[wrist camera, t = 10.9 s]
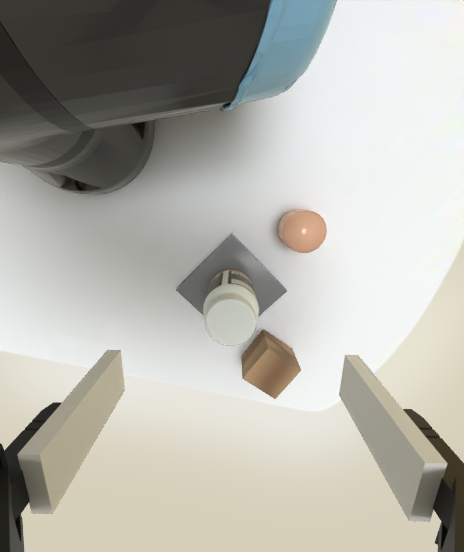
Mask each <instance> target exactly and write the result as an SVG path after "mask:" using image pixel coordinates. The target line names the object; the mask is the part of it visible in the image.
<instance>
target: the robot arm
mask: <svg viewBox="0 0 464 552" xmlns="http://www.w3.org/2000/svg"><path fill="white" fill-rule="evenodd" d="M336 2H337V0H0V162H5V163H11V164H17V165H22V166H23V167H25V168H26V169H28V170H29V171H31V172H32V173H34V174H35V175H37V176H38V177H40V178H41V179H43V180H44V181H46V182H48V183H50V184H52V185H54V186H56V187H58V188H61V189H64V190H67V191H71V192H76V193H85V194H103V193H109V192H112V191H115V190H117V189H120V188H122V187H123V186H125V185H127V184H128V183H129V182H131V181H132V180H133V179H134V178H135V177H136V176H137V175H138V174H139V172H140V171H141V170H142V168H143V167H144V165H145V163H146V161H147V159H148V157H149V154H150V152H151V148H152V144H153V138H154V120H155V119H161V118H167V117H173V116H178V115H184V114H190V113H195V112H201V111H207V110H213V109H218V108H220V110H221V111H229V110H232V109H234V108H235V107H236V106H238V105H239V104H242V103H246V102H251V101H255V100H260V99H264V98H268V97H273V96H276V95H279V94H281V93H283V92H285V91H286V90H288V89H289V88H290V87H291V86H292V85H293V84H294V83H295V82H296V80H297V79H298V78H299V77H300V76H301V75H302V74H303V73H304V72H305V71H306V69H307V68H308V66H309V64H310V63H311V61H312V59H313V58H314V56H315V54H316V52H317V50H318V48H319V45H320V43H321V41H322V39H323V37H324V34H325V32H326V29H327V27H328V24H329V22H330V19H331V16H332V14H333V11H334V8H335V5H336ZM124 391H125V389H124V380H123V370H122V360H121V350H107V351H106V352H105V353H104V355H103V356H102V357H101V358H100V359H99V360H98V362H97V363H96V364H95V365H94V366H93V367H92V369H91V370H90V371H89V372H88V373H87V374H86V375H85V377H84V378H83V379H82V380H81V382H79V384H78V385H77V386H76V387H75V388H74V389H73V391H72V392H71V393H70V394H69V395H68V396H67V398H66V399H65V400H64V401H63V402H62V403H52V404H51V405H49V406H48V407H46V408H45V409H43V410H42V411H41V412H40V413H39V414H38V415H37V416H36V417H35V418H34V419H33V421H32V422H31V423H30V424H29V425H28V426H27V427H26V428H25V430H24V431H22V432H21V433H20V434H19V436H18V437H17V438H16V439H15V440H14V441H13V442H12V443H11V444H10V445H9V446H8V447H7V449H6V450H5V451H4V449H3V446H2V444H0V552H24V541H23V524H22V517H21V513H22V511H23V510H24V508H25V507H26V505H27V504H28V503H30V508H31V511H32V513H38V514H40V513H41V514H53V512H54V511H55V509H56V507H57V505H58V504H59V502H60V500H61V499H62V497H63V495H64V494H65V492H66V490H67V488H68V487H69V485H70V483H71V481H72V480H73V478H74V476H75V475H76V473H77V471H78V470H79V468H80V466H81V464H82V462H83V461H84V459H85V458H86V456H87V454H88V452H89V451H90V449H91V447H92V446H93V444H94V442H95V440H96V439H97V437H98V435H99V434H100V432H101V430H102V428H103V427H104V425H105V423H106V422H107V420H108V418H109V416H110V415H111V413H112V411H113V410H114V408H115V406H116V404H117V403H118V401H119V399H120V398H121V396H122V394H123V392H124ZM339 396H340V397H341V399H342V401H343V403H344V404H345V406H346V408H347V410H348V412H349V414H350V415H351V417H352V419H353V421H354V423H355V424H356V426H357V428H358V430H359V432H360V433H361V435H362V437H363V439H364V441H365V442H366V444H367V446H368V448H369V450H370V452H371V453H372V455H373V457H374V459H375V460H376V462H377V464H378V466H379V468H380V469H381V471H382V473H383V475H384V477H385V479H386V480H387V482H388V484H389V486H390V488H391V489H392V491H393V493H394V495H395V497H396V498H397V500H398V502H399V504H400V506H401V507H402V509H403V511H404V513H405V515H406V516H407V518H408V520H409V521H430V519H431V516H432V512H433V509H434V511H435V512H436V514H437V515H438V517H439V518H440V520H441V521H442V522H441V525H440V528H439V531H438V535H437V537H436V541H435V543H436V544H438V552H464V463H463V462H462V461H461V460H460V459H459V457H458V456H457V455H456V454H455V453H454V452H453V451H452V450H451V449H450V447H449V446H448V445H447V444H446V443H445V442H444V441H443V439H441V438H440V437H439V435H438V434H437V433H436V432H435V430H433V429H432V427H431V426H430V425H429V424H428V423H427V422H426V420H425V419H424V418H422V417H421V416H420V415H419V414H417V413H416V412H414V411H413V410H412V409H402V408H401V407H400V406H399V404H398V403H397V402H396V400H395V399H394V398H393V397H392V396H391V394H390V393H389V392H388V391H387V389H386V388H385V387H384V386H383V385H382V383H381V382H380V381H379V380H378V379H377V378H376V376H375V375H374V374H373V373H372V371H371V370H370V369H369V368H368V366H367V365H366V364H365V363H364V362H363V360H362V359H361V358H360V357H359V356H358V355H345V360H344V366H343V373H342V379H341V386H340V393H339Z"/></svg>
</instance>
